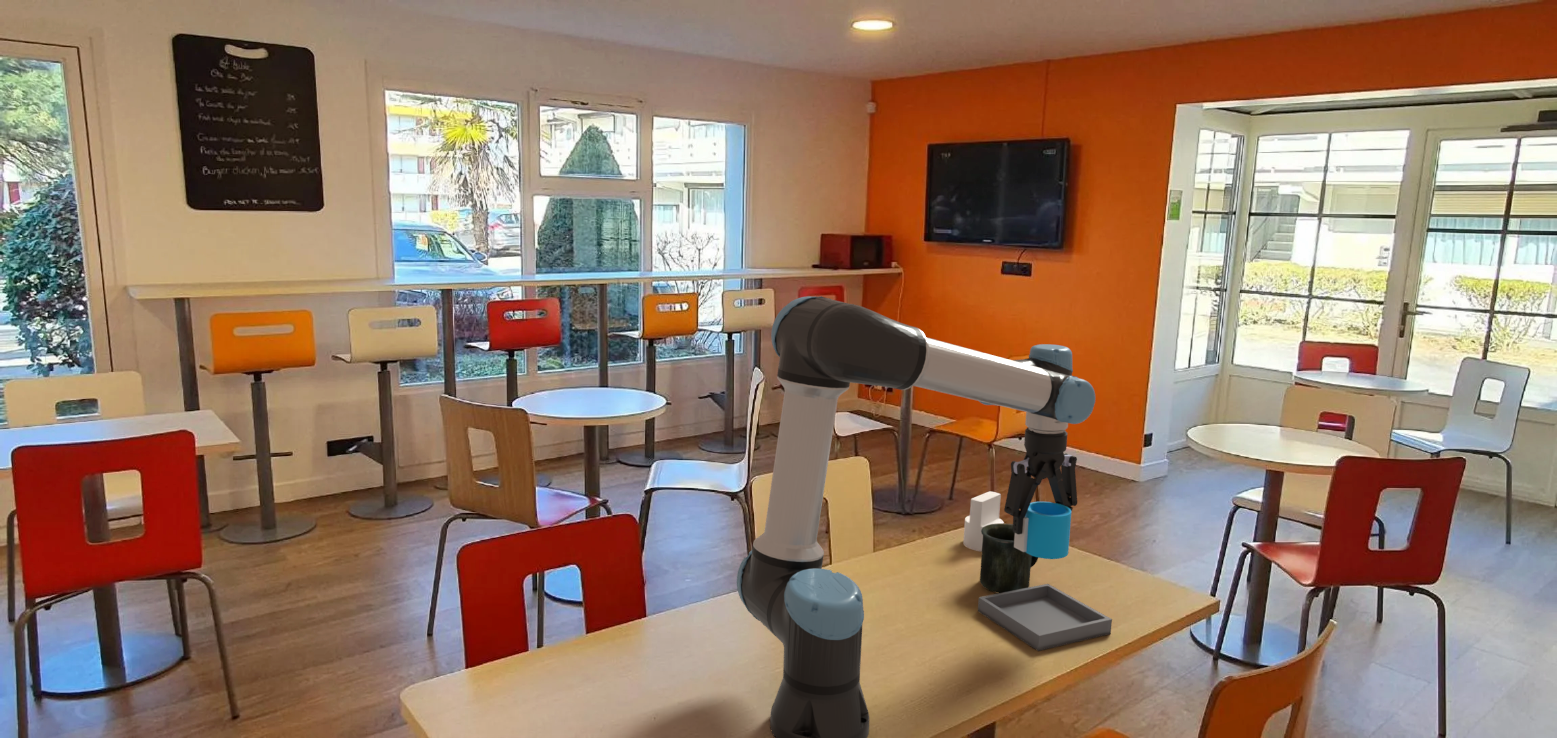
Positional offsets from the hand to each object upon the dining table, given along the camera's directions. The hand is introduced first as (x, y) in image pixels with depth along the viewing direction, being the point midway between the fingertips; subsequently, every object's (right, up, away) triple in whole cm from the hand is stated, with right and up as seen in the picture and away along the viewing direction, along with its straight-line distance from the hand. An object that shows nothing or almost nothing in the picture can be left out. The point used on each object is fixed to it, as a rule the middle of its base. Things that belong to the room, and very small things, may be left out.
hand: (1038, 545), depth 173 cm
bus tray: (+2, -16, +5) cm, 17 cm away
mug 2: (0, 0, 0) cm, 0 cm away
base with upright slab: (-1, -9, +45) cm, 46 cm away
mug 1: (0, -13, +23) cm, 26 cm away
